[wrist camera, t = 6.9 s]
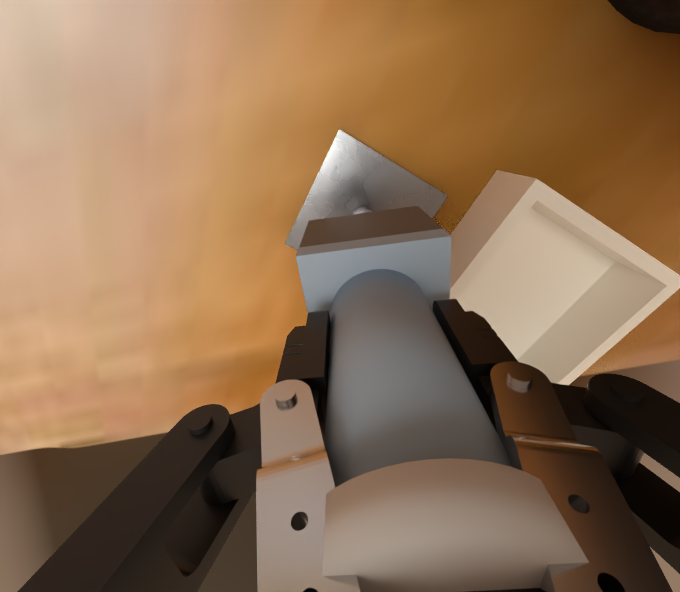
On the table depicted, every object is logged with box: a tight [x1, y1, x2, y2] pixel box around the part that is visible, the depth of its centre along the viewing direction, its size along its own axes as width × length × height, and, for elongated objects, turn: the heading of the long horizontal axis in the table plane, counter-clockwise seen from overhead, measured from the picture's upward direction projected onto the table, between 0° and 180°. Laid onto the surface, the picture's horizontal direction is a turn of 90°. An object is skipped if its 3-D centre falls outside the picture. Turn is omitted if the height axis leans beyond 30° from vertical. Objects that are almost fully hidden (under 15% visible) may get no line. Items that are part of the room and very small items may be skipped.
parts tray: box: [450, 170, 680, 385], centre depth 27 cm, size 15×15×6 cm
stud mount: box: [285, 129, 448, 250], centre depth 25 cm, size 10×10×5 cm
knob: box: [296, 206, 589, 592], centre depth 11 cm, size 6×6×14 cm
